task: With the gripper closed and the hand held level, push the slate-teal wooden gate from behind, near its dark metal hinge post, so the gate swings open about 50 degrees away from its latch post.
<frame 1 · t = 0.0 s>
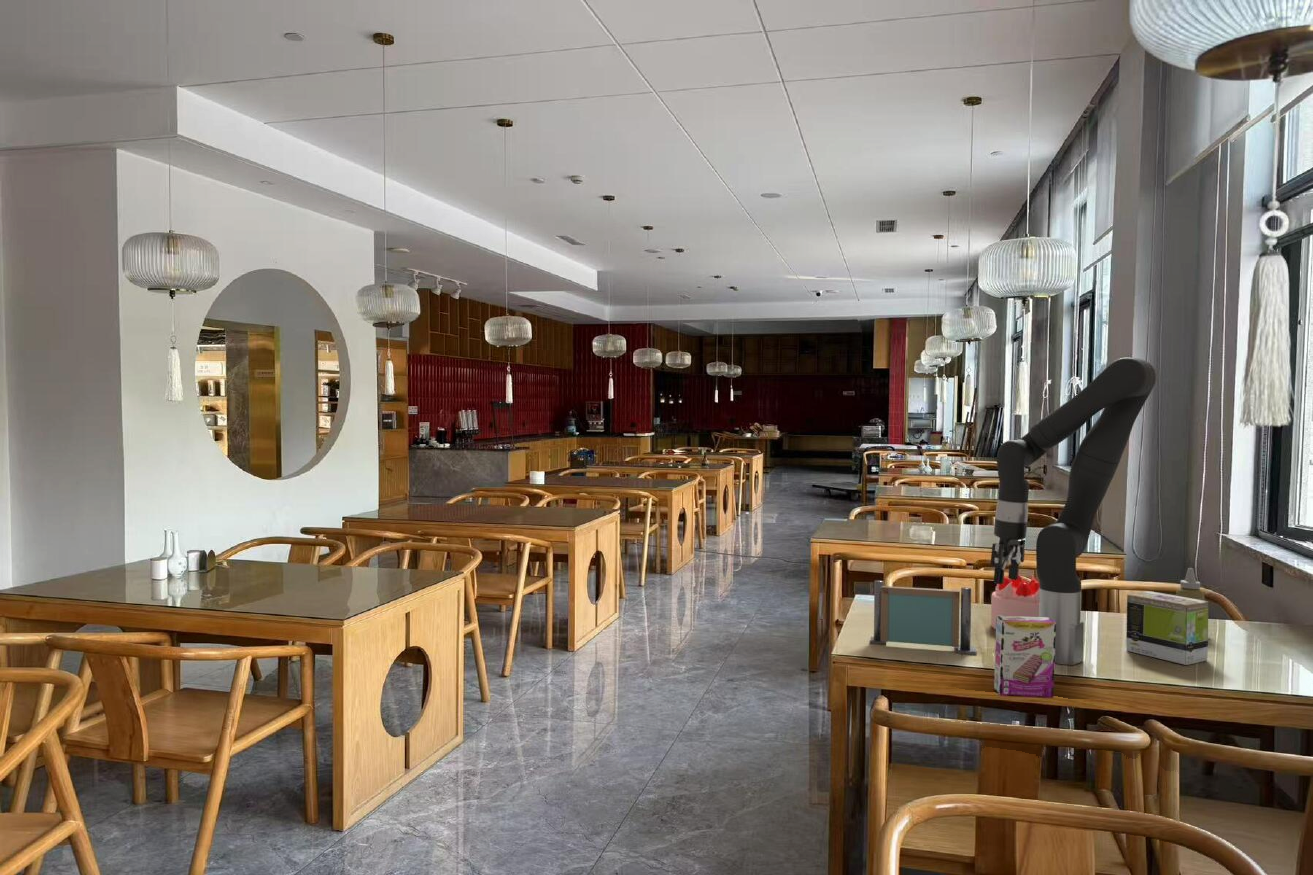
hand: (1005, 581, 218), 17 cm above the table, tool pointing down, fingers open, 8 cm apart
gate leaf: (919, 615, 219), point 8 cm above the table, hinge at 0.0°
cake: (1029, 630, 238), on the table
tea box: (1165, 656, 213), on the table
gate posts: (965, 651, 216), on the table
candy bar box: (1023, 695, 184), on the table
squeeze bottle: (1189, 634, 234), on the table
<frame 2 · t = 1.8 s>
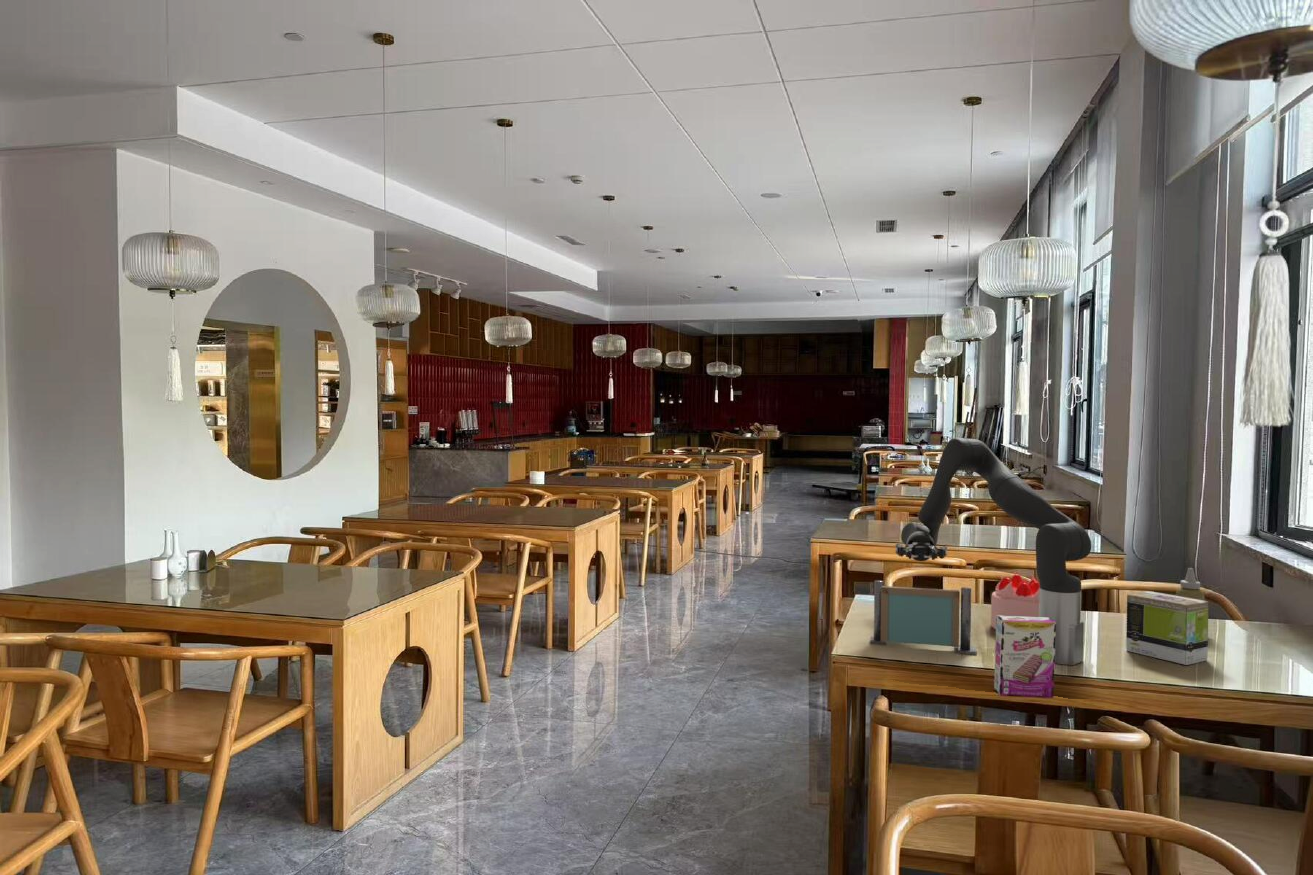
hand: (921, 555, 228), 22 cm above the table, tool horizontal, fingers open, 5 cm apart
nothing on the table moved.
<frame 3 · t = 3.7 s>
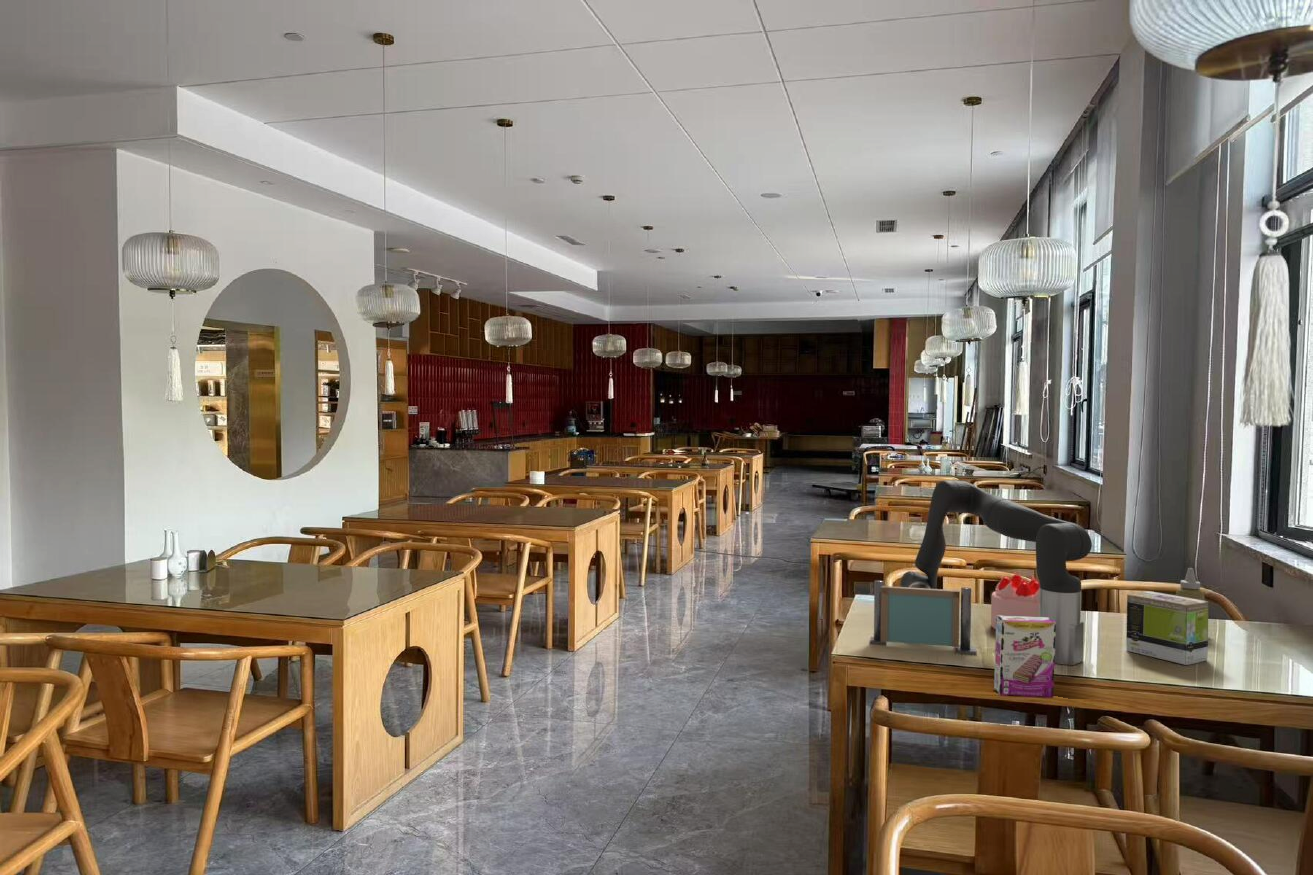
hand: (920, 610, 229), 7 cm above the table, tool horizontal, fingers closed
nothing on the table moved.
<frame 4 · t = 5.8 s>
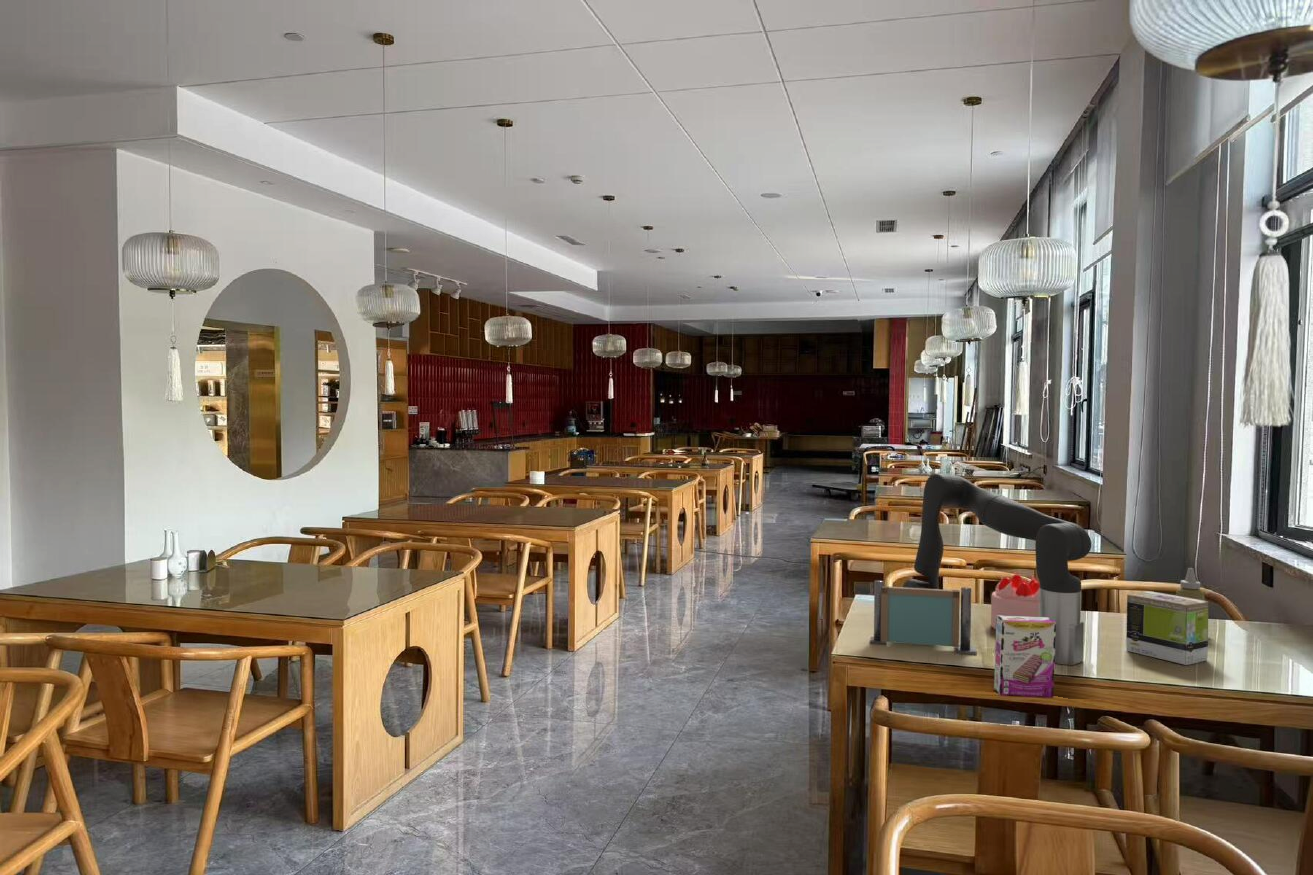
hand: (922, 620, 219), 7 cm above the table, tool horizontal, fingers closed
gate leaf: (919, 616, 219), point 8 cm above the table, hinge at 1.0°, touching gripper
everything else where it was.
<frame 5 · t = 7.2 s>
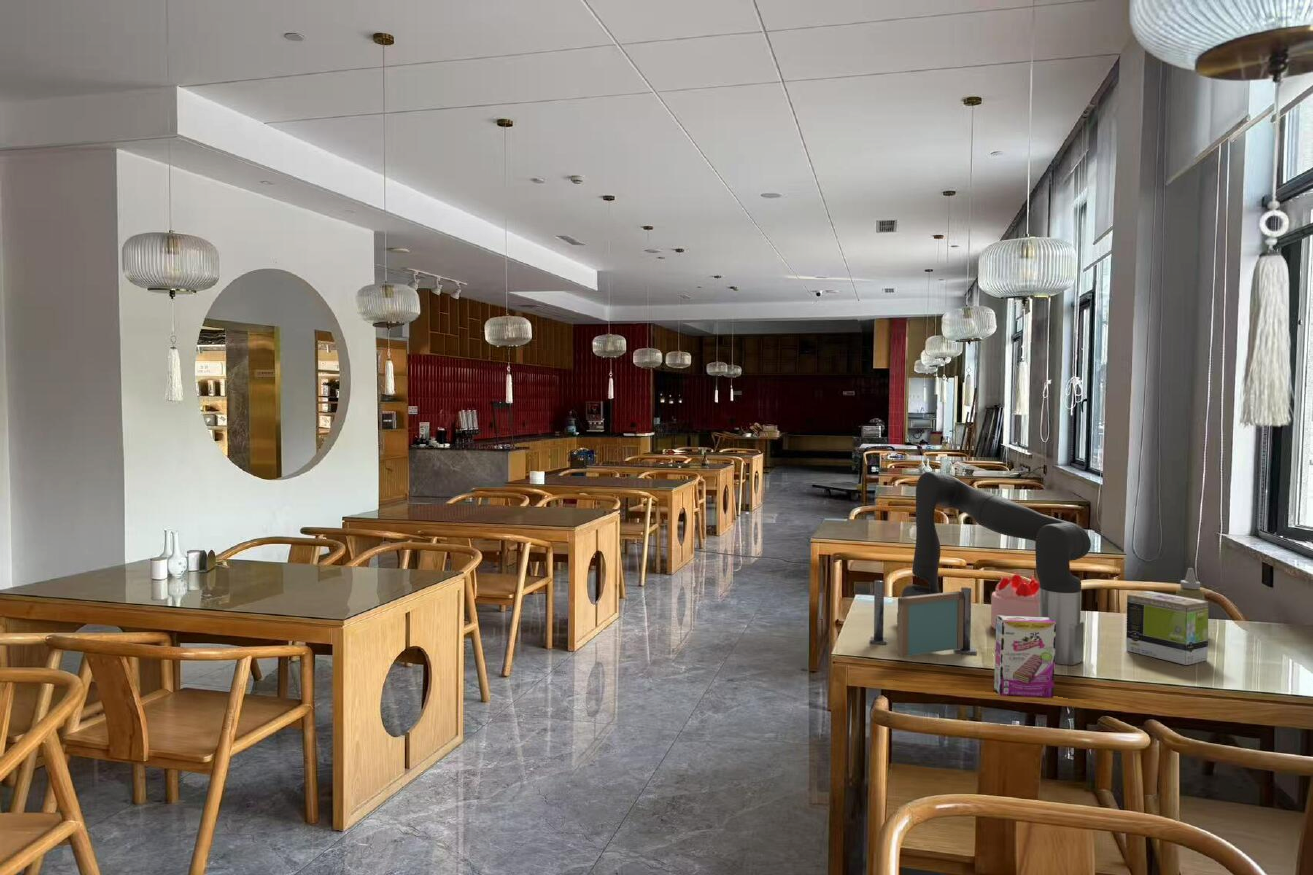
hand: (922, 627, 212), 7 cm above the table, tool horizontal, fingers closed
gate leaf: (931, 623, 211), point 8 cm above the table, hinge at 39.8°, touching gripper
everything else where it was.
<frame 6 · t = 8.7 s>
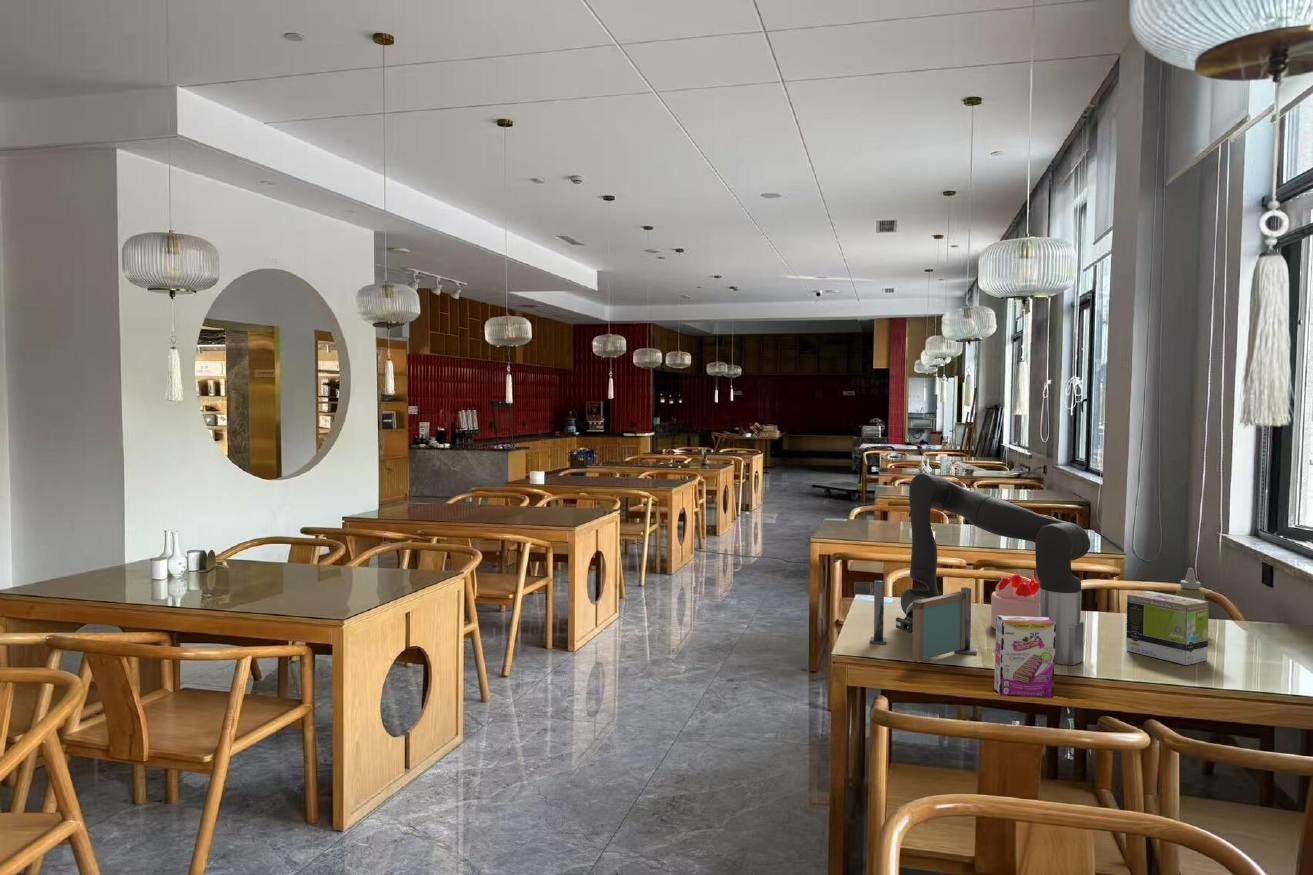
hand: (921, 633, 207), 7 cm above the table, tool horizontal, fingers closed
gate leaf: (939, 625, 209), point 8 cm above the table, hinge at 53.5°, touching gripper
everything else where it was.
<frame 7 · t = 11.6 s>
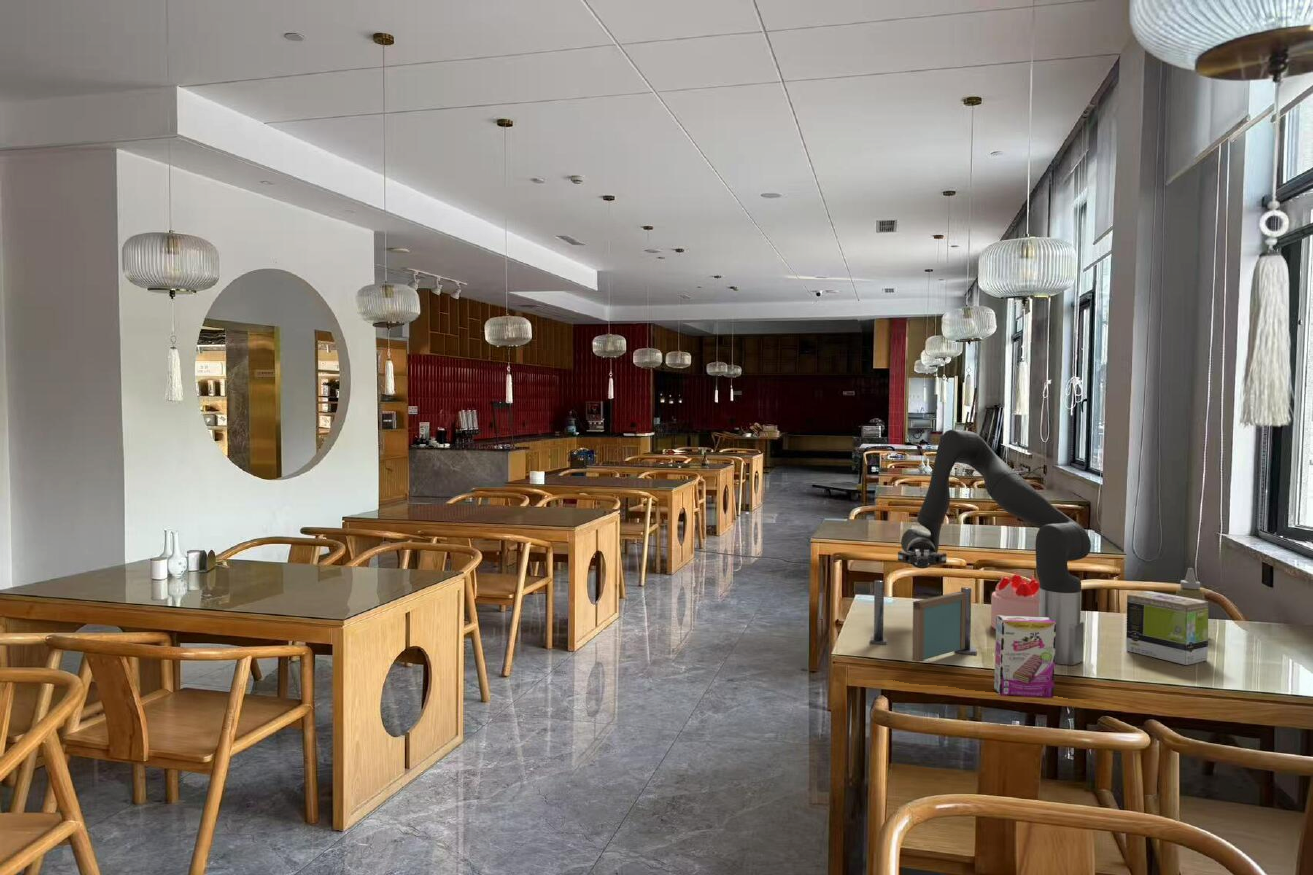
hand: (922, 562, 219), 22 cm above the table, tool horizontal, fingers closed
gate leaf: (939, 625, 209), point 8 cm above the table, hinge at 53.6°
everything else where it was.
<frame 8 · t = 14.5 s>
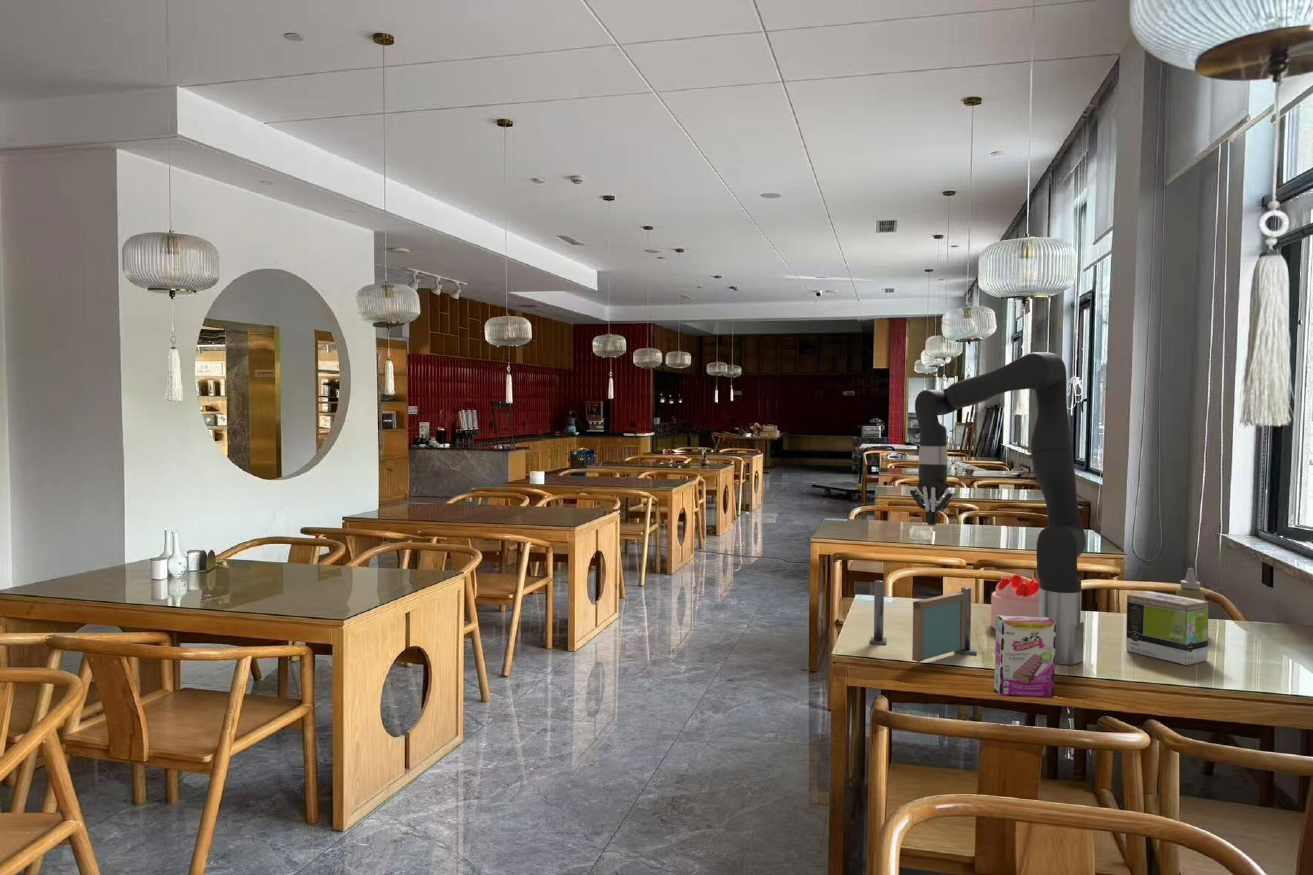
hand: (931, 524, 237), 29 cm above the table, tool pointing down, fingers closed
nothing on the table moved.
at the end: gate leaf at +54° (first picture: +0°); candy bar box moved 0.2 cm from its start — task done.
